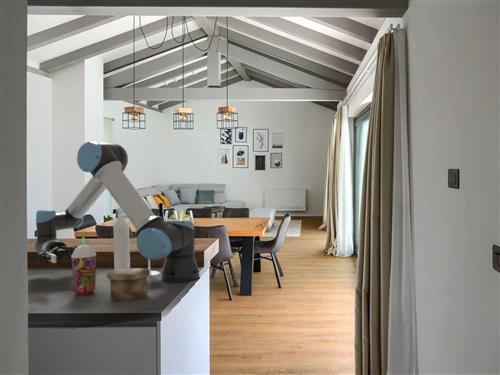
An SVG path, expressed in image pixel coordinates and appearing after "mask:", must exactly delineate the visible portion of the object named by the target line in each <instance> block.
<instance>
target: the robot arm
mask: <svg viewBox="0 0 500 375" xmlns="http://www.w3.org/2000/svg"><path fill="white" fill-rule="evenodd" d="M76 155H77V157H76V162H77V166H78V167H79V169H80V170H81V171H82V172H85V173H90V174H91V175H92V177H91V178H90V179H89V180H88V182H87V183H86V184H85V185H84V187H83V188H82V189H81V190H80V192H79V193H78V194H77V195H76V197H75V198H74V199H73V200H72V202H71V203H70V204H69V205H68V207H67V208H66V209H65V210H64V211H63V212H56V210H55V209H53V208H52V209H51V208H49V209H48V208H47V209H38V210H37V211H36V212H35V213H36V214H35V225H36V226H35V227H36V239H35V242H34V244H33V246H34V251H36V253H37V254H38V255H37V256H38V257H37V260H38V261H39V262H42V261H43V262H44V263H45V264H46V263H49V262H51V263H53V264H57V261H60V260H62V259H64V258H65V257H71V255H72V254H73V252H74V250H75V249H76V248H77V247H78V246H79V245H78V246H77V245H74V246H68V245H66V243H64V242H63V241H60V240H58V239H57V231H62V230H68V229H69V230H70V229H77V228H79V227H81V226H82V225H83V224H84V220H85V218H84V217H85V215H86V213H87V212H88V211H89V210H90V209H91V207H92V206H93V205H94V204H95V203H96V202H97V200H98V199H99V198H100V197H101V196H102V194H103V193H104V192H105V191H106V189H107V191H108V192H109V194H110V195H111V196H112V197H113V199H114V201H115V202H116V204H117V205H118V206H119V208H120V209H121V211H122V212H123V213H124V215H126V216H127V217H126V218H127V219H128V220H129V221H130V224H132V226H133V227H134V228H135V233H134V236H135V237H136V242H135V243H136V247H137V251H138V252H139V254H141V255H142V257H144V258H145V259H147V260H148V259H150V261H151V260H152V261H156V260H163V259H164V261H163V266H162V269H161V272H160V278H161V280H162V281H164V282H168V283H183V282H190V281H191V282H192V281H196V280H198V279H199V278H200V270H199V267H198V264H197V260H196V258H195V257H196V256H195V250H196V249H195V225H194V223H193V221H191V220H170V219H168V220H167V219H166V220H164V219H163V217H162V216H159V215H156V214H154V212H153V211H152V209H151V208H150V207H149V205H148V204H147V203H146V201H145V200H144V198H143V197H142V196H141V194H140V193H139V192H138V190H137V189H136V187H135V186H134V185H133V184H132V182H131V181H130V179H129V178H128V177H127V175H126V174H125V172H124V171H125V170H126V168H127V165H128V162H129V156H128V153H127V151H126V150H125V148H124V147H123V146H122V145H120V144H118V143H115V142H102V141H97V140H96V141H86V142H84V143H83V144H82V145H81V146H80V147H79V149H78V151H77V154H76ZM91 247H92V246H91ZM92 248H93V249H94V247H92Z"/></svg>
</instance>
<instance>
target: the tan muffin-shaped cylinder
mask: <svg viewBox="0 0 500 375" xmlns="http://www.w3.org/2000/svg"><path fill="white" fill-rule="evenodd" d="M150 271H151V270H150ZM150 271H149V270H148V268H137V267H136V268H133V267H132V268H131V267H130V269H120V270H115V271H114V270H112V271H110V272H108V273H107V274H106V275H107V276H106V277H107V279H108V280H110V299H112V300H113V301H119V302H127V301H129V302H130V301H136V300H141V299H143V298H146V297H147V296H148V278H147V277H150V276H149V275H150Z"/></svg>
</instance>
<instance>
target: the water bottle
mask: <svg viewBox="0 0 500 375" xmlns="http://www.w3.org/2000/svg"><path fill="white" fill-rule="evenodd" d="M126 218H128V217H127V216H126V215H125V213H124V214H123V213H120V214H118V215H117V219H116V220H115V222H114V224H113V225H112V229H113V230H112V231H113V232H112V233H113V261H114V262H113V263H114V266H113V267H114V270H113V271H115V270H120V269H130V268H131V249H130V246H131V245H130V225H129V223H128V221H127V220H126Z"/></svg>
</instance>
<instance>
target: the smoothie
mask: <svg viewBox="0 0 500 375" xmlns="http://www.w3.org/2000/svg"><path fill="white" fill-rule="evenodd" d="M81 238H82V241H81V242H82V244H80V245H78V247H77V248H76V249H75V250H74V252H73V254H72V255H71V256H70V257H71V264H72V267H71V268H72V274H73V276H72V277H73V284H74V286H73V287H74V292H75V294H76V295H77V296H89V295H92V294H94V292H95V290H96V272H97V271H96V270H97V253H96V251H95V250H94V247H93V248H92V246H90V245H88V244H85V243H86V242H85V236H82V237H81Z"/></svg>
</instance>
